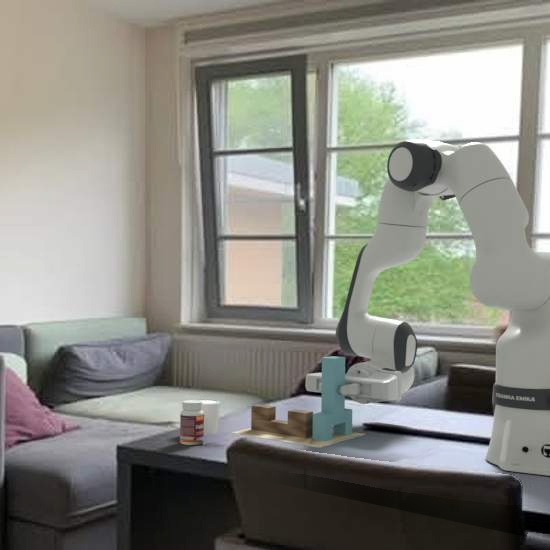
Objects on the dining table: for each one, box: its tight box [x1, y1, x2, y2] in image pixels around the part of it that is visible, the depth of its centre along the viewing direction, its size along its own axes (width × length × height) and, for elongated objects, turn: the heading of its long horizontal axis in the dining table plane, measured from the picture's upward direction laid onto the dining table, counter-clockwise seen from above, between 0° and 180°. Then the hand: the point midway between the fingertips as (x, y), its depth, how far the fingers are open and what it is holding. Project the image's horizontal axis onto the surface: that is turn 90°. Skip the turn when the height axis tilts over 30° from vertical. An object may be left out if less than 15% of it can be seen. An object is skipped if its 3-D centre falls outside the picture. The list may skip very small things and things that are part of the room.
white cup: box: [197, 399, 221, 437], centre depth 167 cm, size 7×7×7 cm
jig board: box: [231, 403, 367, 449], centre depth 162 cm, size 22×17×6 cm
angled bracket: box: [313, 355, 353, 441], centre depth 159 cm, size 3×10×16 cm, turn 143°
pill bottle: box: [179, 399, 205, 446], centre depth 158 cm, size 5×5×8 cm
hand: (330, 389), depth 158 cm, fingers closed on angled bracket, 3 cm apart
